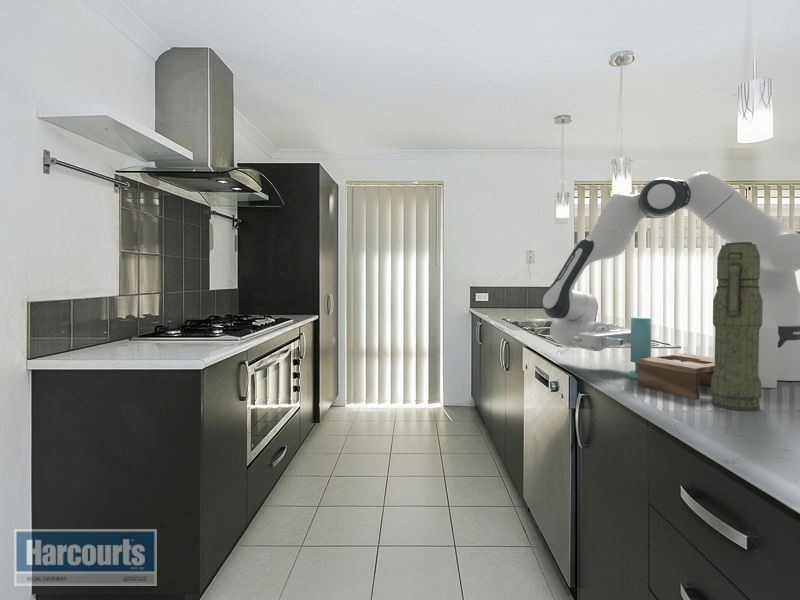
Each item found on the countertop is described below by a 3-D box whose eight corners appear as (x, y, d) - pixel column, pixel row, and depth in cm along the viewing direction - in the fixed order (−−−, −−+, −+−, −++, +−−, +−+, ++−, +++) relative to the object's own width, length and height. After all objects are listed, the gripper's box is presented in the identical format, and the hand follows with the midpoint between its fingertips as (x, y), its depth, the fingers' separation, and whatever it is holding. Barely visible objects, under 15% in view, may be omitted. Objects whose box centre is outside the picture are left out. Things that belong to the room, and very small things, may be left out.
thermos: (709, 408, 104) (712, 242, 103) (712, 397, 114) (714, 245, 112) (761, 415, 100) (765, 240, 98) (759, 402, 109) (763, 243, 108)
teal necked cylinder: (633, 374, 140) (634, 316, 139) (654, 377, 136) (655, 317, 135) (626, 378, 136) (626, 318, 135) (647, 380, 132) (648, 319, 131)
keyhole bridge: (684, 378, 134) (684, 353, 134) (742, 390, 120) (743, 361, 120) (638, 386, 126) (638, 358, 126) (695, 399, 113) (695, 368, 112)
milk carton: (776, 388, 121) (778, 311, 120) (744, 387, 123) (746, 311, 122) (761, 382, 128) (763, 309, 127) (731, 381, 130) (732, 309, 129)
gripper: (568, 328, 146) (606, 332, 133) (617, 323, 154) (657, 327, 142) (568, 349, 146) (606, 355, 134) (617, 343, 155) (657, 349, 142)
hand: (633, 341), depth 138 cm, fingers open, 8 cm apart
